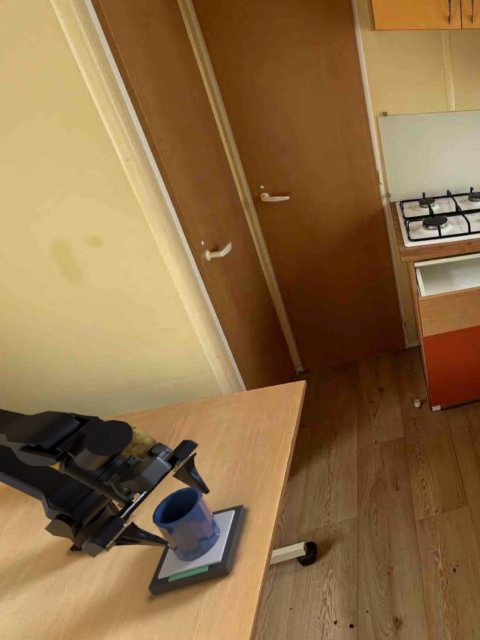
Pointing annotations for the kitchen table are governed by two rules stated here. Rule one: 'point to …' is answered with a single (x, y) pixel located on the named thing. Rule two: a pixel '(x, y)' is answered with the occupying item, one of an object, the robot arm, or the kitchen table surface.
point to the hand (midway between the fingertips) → (188, 517)
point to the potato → (139, 444)
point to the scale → (207, 566)
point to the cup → (186, 523)
